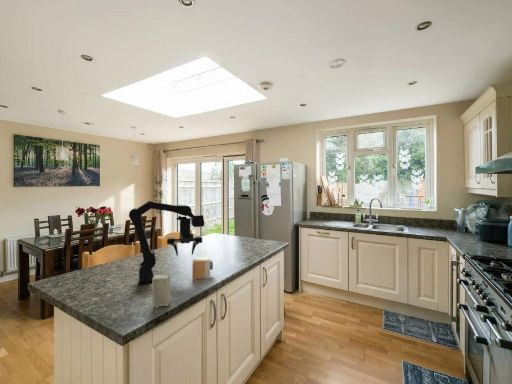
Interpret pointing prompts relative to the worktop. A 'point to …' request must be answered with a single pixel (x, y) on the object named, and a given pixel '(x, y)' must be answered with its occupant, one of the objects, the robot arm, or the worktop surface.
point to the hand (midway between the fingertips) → (184, 255)
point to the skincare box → (161, 290)
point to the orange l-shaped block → (198, 270)
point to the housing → (206, 265)
